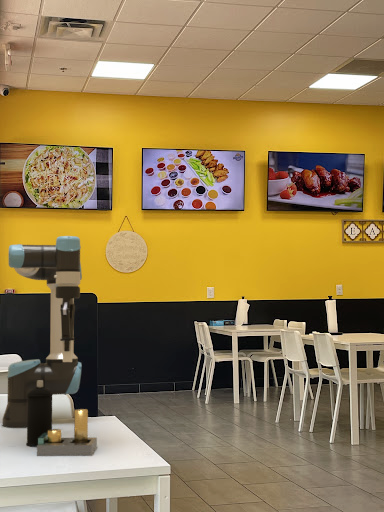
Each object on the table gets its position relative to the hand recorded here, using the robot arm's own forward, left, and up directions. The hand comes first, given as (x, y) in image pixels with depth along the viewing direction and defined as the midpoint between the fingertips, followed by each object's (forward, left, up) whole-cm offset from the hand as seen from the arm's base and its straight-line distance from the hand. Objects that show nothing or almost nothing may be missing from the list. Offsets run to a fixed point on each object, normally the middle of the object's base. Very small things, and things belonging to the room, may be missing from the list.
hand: (67, 361), depth 228 cm
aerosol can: (-6, -10, -27) cm, 29 cm away
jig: (+5, +1, -26) cm, 27 cm away
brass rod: (+5, +5, -26) cm, 27 cm away
